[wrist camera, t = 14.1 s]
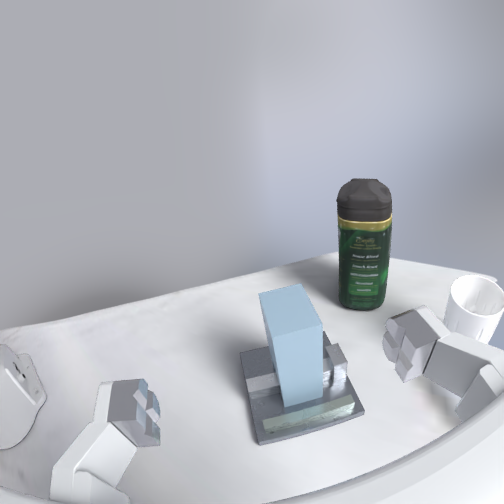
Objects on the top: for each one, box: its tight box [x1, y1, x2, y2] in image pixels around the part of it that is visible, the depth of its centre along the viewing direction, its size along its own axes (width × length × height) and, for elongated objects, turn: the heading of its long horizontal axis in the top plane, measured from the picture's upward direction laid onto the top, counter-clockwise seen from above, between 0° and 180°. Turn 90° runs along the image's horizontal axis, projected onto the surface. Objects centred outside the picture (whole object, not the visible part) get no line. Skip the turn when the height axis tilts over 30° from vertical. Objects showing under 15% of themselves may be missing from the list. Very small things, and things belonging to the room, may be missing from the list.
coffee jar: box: [337, 179, 392, 310], centre depth 42 cm, size 10×8×19 cm
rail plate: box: [240, 331, 365, 445], centre depth 33 cm, size 12×14×4 cm
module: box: [259, 283, 323, 407], centre depth 31 cm, size 4×7×12 cm, turn 9°
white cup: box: [443, 275, 504, 344], centre depth 29 cm, size 8×8×10 cm
